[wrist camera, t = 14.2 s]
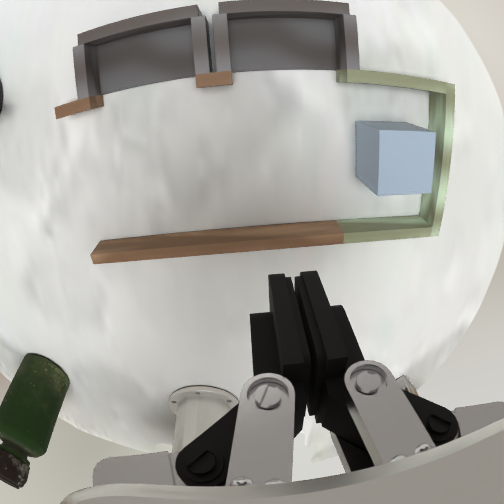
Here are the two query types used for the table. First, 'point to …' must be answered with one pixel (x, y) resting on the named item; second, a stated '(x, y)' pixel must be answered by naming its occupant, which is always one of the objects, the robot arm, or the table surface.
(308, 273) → the robot arm
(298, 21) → the trap box
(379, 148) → the block
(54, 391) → the green bottle
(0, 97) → the mug
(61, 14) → the table surface
